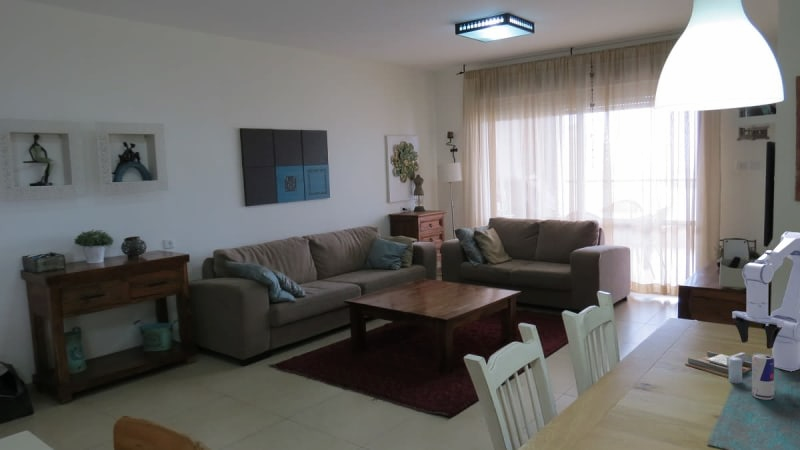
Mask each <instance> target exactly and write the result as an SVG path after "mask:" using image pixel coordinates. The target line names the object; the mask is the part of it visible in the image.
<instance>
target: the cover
mask: <svg viewBox="0 0 800 450" xmlns="http://www.w3.org/2000/svg"><path fill="white" fill-rule="evenodd" d="M719 354H720V355H717V356H714V357H711V358H708V359H706V361H709V362H712V363H716V364H719V365H723V366H727V367H729V358H730V357H736V358H740V359H742V363H745V361H746V352H738V353H736V354H732V355H726V354H722V353H719Z"/></svg>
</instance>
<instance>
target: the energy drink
mask: <svg viewBox="0 0 800 450" xmlns="http://www.w3.org/2000/svg"><path fill="white" fill-rule="evenodd" d="M751 362H752V370H751V395H752V396H753V397H754V398H756V399H759V400H763V401H770V400H772V399H774V398H775V367H774V358H773V356H772V355H771V354H769V353H764V352H759V353H758V352H757V353H753V355H752V357H751Z"/></svg>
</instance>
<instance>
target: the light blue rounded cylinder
mask: <svg viewBox="0 0 800 450" xmlns="http://www.w3.org/2000/svg"><path fill="white" fill-rule="evenodd" d="M728 381H729V382H730V383H733V384H742V383H743V373H742V359H740V358H736V357H730V358H729V378H728Z"/></svg>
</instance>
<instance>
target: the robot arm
mask: <svg viewBox="0 0 800 450" xmlns="http://www.w3.org/2000/svg"><path fill="white" fill-rule="evenodd" d="M786 257H787V258H788V259H789V260H791V261H792V263H793V264H792V268H791V271H790V275H789V277H788V278H789V279H788V282H787V285H786V290H785V293H784V296H783V300H782V303H781V307H779V308H777V309H775V310H773V311H771V314H770V315H769V284H770V283H771V281H772V280H773V277H774V275H775V272H776V271H777V270H778V269H779V268H780V267H781V266H783V264H784V258H786ZM741 275H742V278H743V281H744V283H743V284H744V286H745V287H746V311H738V310H735V311H732V312H731V313H732V317H731V318H732V319H734V320H733V324H734V325H735V327H736V329H737V331H738V333H739V337H740V340H741V343H743V344H744V343H748V341H749V327H750V323H751V322H754V323H759V324H763V325H765V326H764V327H763V329H764V332H765V338H766V348H767V349H769V350H770V349H772V353H771V354H772V356H773V358H774V368H776V369H779V370H784V371H787V372H792V371H793V372H795V371H797V370H800V232H798V231H797V232H796V231H795V232H793V231H785V232H784V233H783V234H782V235H781V236H780V242H779V244H777V246H776V247H774V248H773V250H765V252H764V253H763V254H762V255H760V256H759V257H758V258H757V259H756V260H754V262H749V263H746V264H745V265H744V266H743V268H742V271H741Z"/></svg>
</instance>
